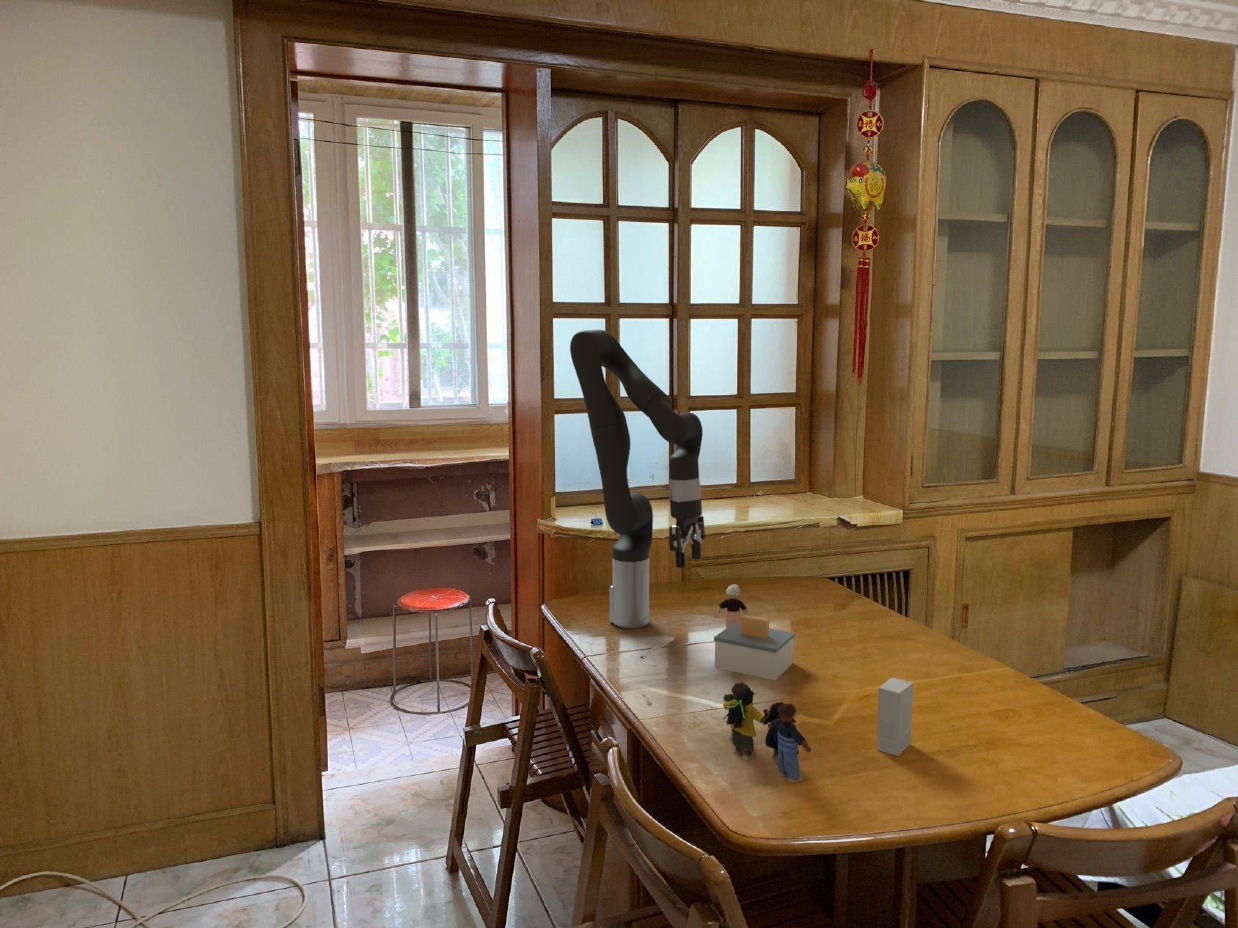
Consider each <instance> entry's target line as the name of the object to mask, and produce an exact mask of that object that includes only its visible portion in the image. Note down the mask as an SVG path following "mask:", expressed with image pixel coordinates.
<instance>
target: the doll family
mask: <svg viewBox="0 0 1238 928" xmlns="http://www.w3.org/2000/svg"><path fill="white" fill-rule="evenodd" d="M755 695H756V694H755V692H754V691H753V690H752V689H751V688H750V686H749V685H747V684H746V683H745V682H736V683H734V684H733V686H732V688H731V693H728V694H727V693H726V694H724V695H723V700H724V702H723V704H722V707H723V709H724V710H725V711H726V710H727V711H728V712H727V714H726V715H725V716H724V717H722V719H721V720H722V721H723V720H725V719H726V725H727V726H728V725H730V728H731V735H730V736H729V737H728V740H729V741H730V742H732V746H733V747H735V748H734V750H733V751H732V754H733V755H734V756H741V755H742V759H743V760H745V761H748V760H752V759H754V758H757V755H756V753H755V748H754V743H755V741H754V738H756V737H757V734H756V730H755V724H754V720H755V721H756V722H758V723H759V724H762V726H766V725H767V728H768V731H767V733H766V735H765V740H764V741H765V742H764V743H765V745H766V747H767V748H771V749H773V753H772V756H771V758H772V759H773V760H777V765H778V773H777V775H778V777H780V778H781V777H782V778H784V777H787V782H789V783H793V784H794V783H799V782H802V781H803V780H804V778H803V775H801V773H800V761H799V754H800V751H799V746H802V748H803V749H804V750H805V752H806V753H811V751H812V748H811V747H810V746H809V743H808V741H807V740H806V737H804V735H802V733H801V732H800V730H798V729H797V728H796V727H797V725H796V723H797V720H796V719H800V718H801V716H795V714H796V712H797V708H796V707H795V705H794V704H792V703H785V702H783V701H777V702H775V703H772V704H771V705H770V707H769V709H768V708H764V709H763V711H762V712H760V711H759V709H757V708H756V707H754V696H755Z"/></svg>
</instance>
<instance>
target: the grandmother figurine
mask: <svg viewBox="0 0 1238 928" xmlns="http://www.w3.org/2000/svg"><path fill="white" fill-rule="evenodd" d="M740 590H741V588H740V586H739V585H738V584H735V583H734V584H731V585H729V586H728V587H727V588H726V593H725V594H727V596H728V597H729V598H727V599H724V600H723V601H721V602H720V604H718V609H717V610H716V612H717V613H718V614H721V612H722V610H723V609H726V612H725V629H726V628H728V627H729V626H730V625H732V624H733V623H734V622H738V623H741V616H742V613H741V610H742V612H743V613H744V614H743V615H750V614H749V611H748V609H747V606H746V605H745V603H744V602H743V601H742V600H740V599H738V597H739V596H740V592H741V591H740Z"/></svg>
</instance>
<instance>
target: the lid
mask: <svg viewBox="0 0 1238 928" xmlns="http://www.w3.org/2000/svg"><path fill="white" fill-rule="evenodd" d="M795 637H796V632H793V631H786V630H782V629H781V630H780V629H774V628H772V627H771V628H770V618H766V617H761V616H755V615H754V616H753V615H750V614H749V615H745V614H741V623H738V622H734V623H733V624H732V625H730V626H729V627H728V628H726V627H725V629H723V630H722V631H720V632H719V633H718V634H717V635H715V636H713V641H714V642H715V641H718V642H723V643H728V644H733V645H738V646H744V647H749V648H754V649H759V650H764V651H769V652H774V653H776V652H778V651H779V650H780V649H781V648H782V647H783V646H784V645H786V644H787V643H788V642H789V641H790V640H791V639H792V638H795Z"/></svg>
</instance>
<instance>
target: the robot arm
mask: <svg viewBox="0 0 1238 928" xmlns="http://www.w3.org/2000/svg"><path fill="white" fill-rule="evenodd" d="M569 351H570V357H571V360H572V364H573V368H574V371H575V373H576V376H577V377H576V378H577V379H578V383H579V386H580V389H581V392H582V397H583V401H584V405H585V408H586V412H587V413H586V414H587V418H588V422H589V428H590V432H591V433H590V434H591V438H592V442H593V446H594V450H595V454H596V460H597V466H598V469H599V475H600V479H601V485H602V487H601V488H602V494H603V495H602V496H603V502H604V503H603V504H604V511H605V517H606V520H607V523H608V525H609V528H611V530H612V531H614V533H617V534H618V535H619V537H618V538H617V541H616V542H615V543H614V544H613V547H612V550H611V551H612V553H611V554H612V555H611V556H612V562H611V563H612V585H610V586H609V589H608V591H609V593H608V594H609V623H610V622H613V623H614V625H615V626H616V625H617V626H616V627H619V626H620V627H619V628H623V627H624V628H626V629H636V628H642V627H645V626H648V625H649V622H650V550H651V547H652V544H653V531H654V530H653V527H654V514H653V507H652V506H653V505H652V504H651V501H650V500H649V498H647V496H645V494H642V493H638V492H633V493H631V490H630V487H629V486H630V485H629V481H628V466H629V465H628V464H629V458H630V451H631V435H630V432H629V431H630V430H629V427H628V423H627V418H626V415H625V413H624V411H623V409H622V407H621V405H620V404H619V402H618V401H617V399H616V398H615V397H614V395H613V394H612V392H611V390H610V388H609V387H608V385H607V383H606V380H605V376H604V371H603V368H604V369H606V370H607V371H609V372H610V373H612V374H613V375H614V376H615V377H616V378H617V379H618V380H619V381H620V383H621V385H622V386H623V390H624V391H625V394H626V395H627V397H628V398H629V400H630V401H631V403H633V405H634V406H636V408H637V409H638V410H640V411H641V412H642V413H643V414H644V415H645V416H646V417H648V419H649V420H650V422H651V423H652V425H653V426H654V428H655V429H656V431H657V432H658V434H659V435H660V437H661V438H663V439H664V440H665V441H666V442H668V443H669V444H671V445H676V447H675V452H674V453H673V454H672V455H671V456H670V458H669V460H668V468H669V488H668V489H669V490H668V491H669V507H670V509H669V510H670V517H671V518H673V519H675V525H669V528H668V537H669V539H668V540H669V541H668V543H669V551H670V552H674V553H675V554H674V555H675V557H674V558H675V566H676V568H681V569H683V568H685V567H686V565H687V564H686V551H685V549H686V546H687V545H688V544H689V542H690V543H691V544H690V547H691V548H690V549H691V558H692V559H693V560H700V559H701V558H702V550H701V549H702V548H701V547H702V546H701V544H702V543H703V540H705V539H706V531H705V519H704V516H703V506H702V487H701V482H700V470H699V469H700V468H699V466H700V465H699V457H700V452H701V447H702V441H703V424H702V421H701V419H700V417H698V415H697V414H695V413H693V412H683V413H677V412H675V411H674V409H673V408H672V407H673V401H672V399H671V397H670V396H669V395H668V394H667V393H665V391H664V390H662V389H661V388H660V387H659V386H658V385H657V384H655V383H654V381H652V380H651V379H650V378H649V377H648V376H647V374H645V373H644V372H643V371H642V370H641V369H640V368H639V367H638V365H637V364H636V363H635V362H634V360H633V359H632V358H631V356H629V354H628V353H627V352H626V351H625V349H624V348H623V347H622V344H620V343H619V341H618V340H617V339H616V338H615V336H613V335H612V333H610V332H608V331H607V330H604V329H587V330H579V331H577V332H575V333H574V335H573V336H572V338H571V340H570V345H569ZM613 623H612V624H613Z"/></svg>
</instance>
